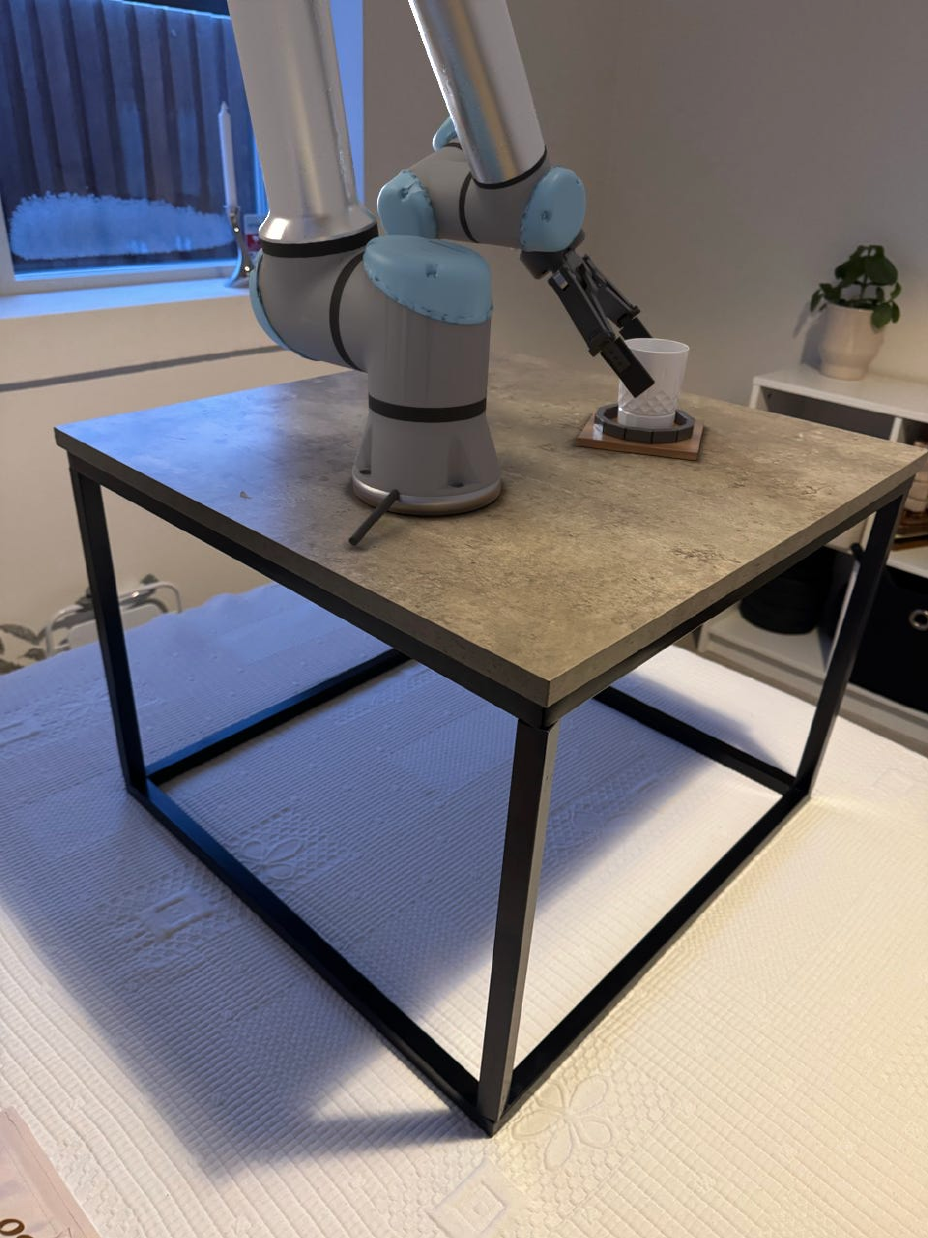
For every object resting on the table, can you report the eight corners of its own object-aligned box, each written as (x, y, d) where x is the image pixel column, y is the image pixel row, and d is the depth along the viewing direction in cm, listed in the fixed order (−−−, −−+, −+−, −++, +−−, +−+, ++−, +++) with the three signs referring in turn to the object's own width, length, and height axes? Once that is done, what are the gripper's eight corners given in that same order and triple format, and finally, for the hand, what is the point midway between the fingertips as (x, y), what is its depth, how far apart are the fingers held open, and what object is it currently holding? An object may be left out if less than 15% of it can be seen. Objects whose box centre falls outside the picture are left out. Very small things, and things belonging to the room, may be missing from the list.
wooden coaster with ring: (695, 460, 99) (699, 439, 98) (576, 445, 103) (578, 425, 101) (703, 427, 111) (706, 407, 110) (596, 414, 114) (598, 395, 113)
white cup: (643, 415, 111) (654, 335, 106) (689, 431, 106) (703, 348, 101) (599, 424, 107) (608, 341, 102) (645, 441, 102) (657, 355, 97)
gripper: (540, 214, 87) (666, 380, 90) (586, 202, 108) (687, 337, 111) (487, 266, 91) (610, 423, 94) (541, 245, 112) (641, 374, 115)
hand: (652, 377), depth 103 cm, fingers open, 13 cm apart
